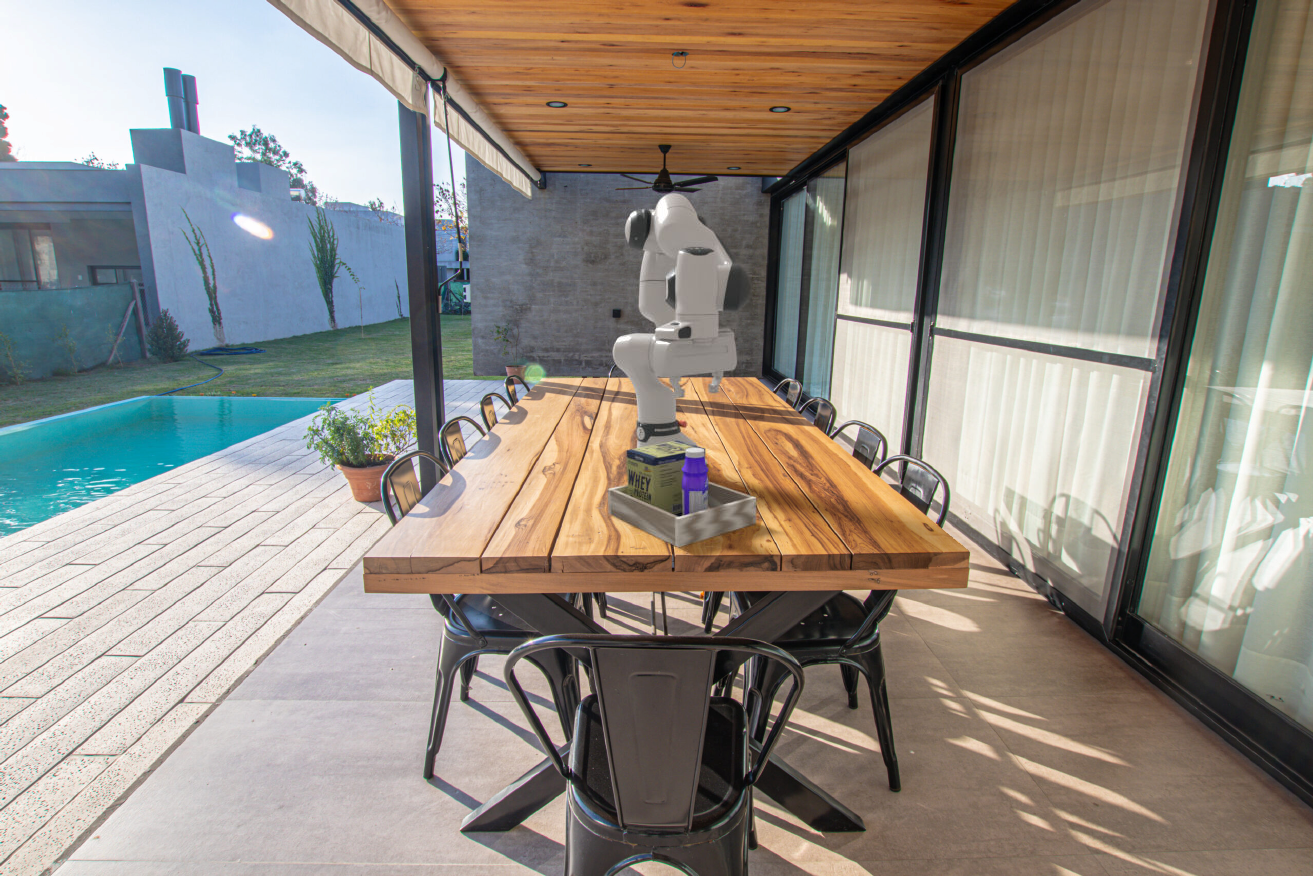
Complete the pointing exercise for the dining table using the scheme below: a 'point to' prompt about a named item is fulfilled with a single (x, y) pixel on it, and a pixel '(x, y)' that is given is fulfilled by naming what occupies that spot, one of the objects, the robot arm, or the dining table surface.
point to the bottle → (694, 482)
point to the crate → (721, 518)
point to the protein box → (658, 474)
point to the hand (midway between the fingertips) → (696, 395)
